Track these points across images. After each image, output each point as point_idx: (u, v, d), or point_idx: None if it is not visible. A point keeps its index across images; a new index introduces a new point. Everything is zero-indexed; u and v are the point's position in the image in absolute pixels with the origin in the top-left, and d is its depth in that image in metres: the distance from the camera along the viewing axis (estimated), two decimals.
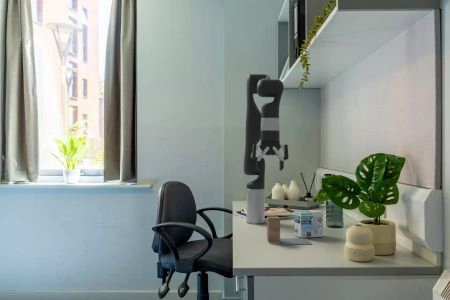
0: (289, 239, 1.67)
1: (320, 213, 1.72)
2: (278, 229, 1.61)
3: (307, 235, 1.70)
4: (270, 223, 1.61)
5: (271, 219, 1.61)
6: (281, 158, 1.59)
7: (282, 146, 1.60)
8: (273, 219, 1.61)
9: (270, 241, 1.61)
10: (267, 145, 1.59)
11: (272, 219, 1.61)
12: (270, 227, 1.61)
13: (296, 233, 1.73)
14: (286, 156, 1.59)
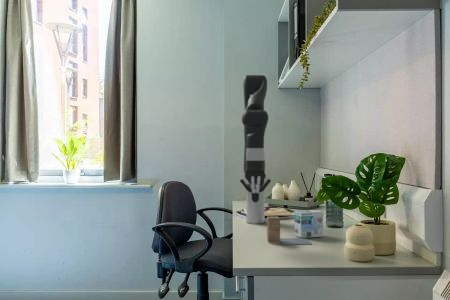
0: (289, 239, 1.67)
1: (320, 213, 1.72)
2: (278, 229, 1.61)
3: (307, 235, 1.70)
4: (270, 223, 1.61)
5: (271, 219, 1.61)
6: (257, 190, 1.62)
7: (266, 178, 1.63)
8: (273, 219, 1.61)
9: (270, 241, 1.61)
10: (252, 175, 1.62)
11: (272, 219, 1.61)
12: (270, 227, 1.61)
13: (296, 233, 1.73)
14: (261, 188, 1.62)
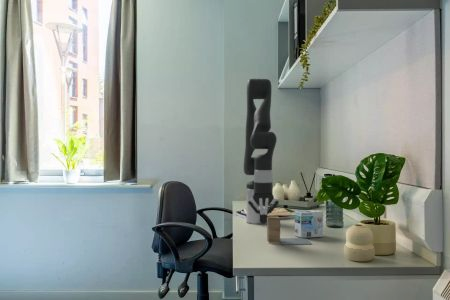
0: (289, 239, 1.67)
1: (320, 213, 1.72)
2: (278, 229, 1.61)
3: (307, 235, 1.70)
4: (270, 223, 1.61)
5: (271, 219, 1.61)
6: (265, 211, 1.62)
7: (274, 200, 1.63)
8: (273, 219, 1.61)
9: (270, 241, 1.61)
10: (260, 196, 1.62)
11: (272, 219, 1.61)
12: (270, 227, 1.61)
13: (296, 233, 1.73)
14: (269, 210, 1.62)
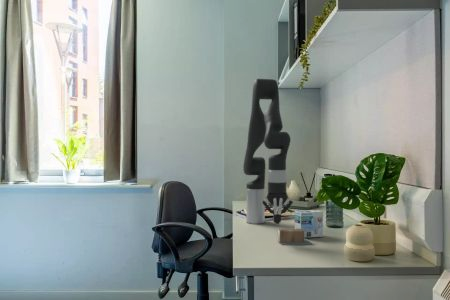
0: None
1: (320, 213, 1.72)
2: (293, 240, 1.62)
3: (307, 235, 1.70)
4: (299, 232, 1.62)
5: (302, 233, 1.62)
6: (279, 211, 1.62)
7: (288, 200, 1.63)
8: (302, 235, 1.62)
9: (281, 233, 1.61)
10: (274, 196, 1.62)
11: (302, 234, 1.62)
12: (295, 232, 1.62)
13: None
14: (283, 210, 1.62)
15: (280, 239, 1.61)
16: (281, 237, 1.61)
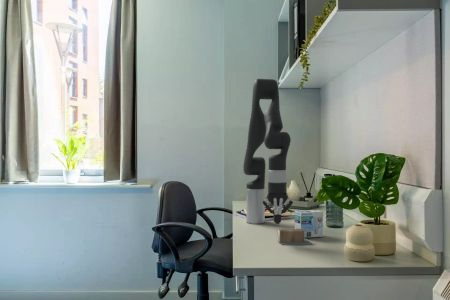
0: None
1: (320, 213, 1.72)
2: (293, 240, 1.62)
3: (307, 235, 1.70)
4: (299, 232, 1.62)
5: (302, 233, 1.62)
6: (279, 211, 1.62)
7: (288, 200, 1.63)
8: (302, 235, 1.62)
9: (281, 233, 1.61)
10: (274, 196, 1.62)
11: (302, 234, 1.62)
12: (295, 232, 1.62)
13: None
14: (283, 210, 1.62)
15: (280, 239, 1.61)
16: (281, 237, 1.61)
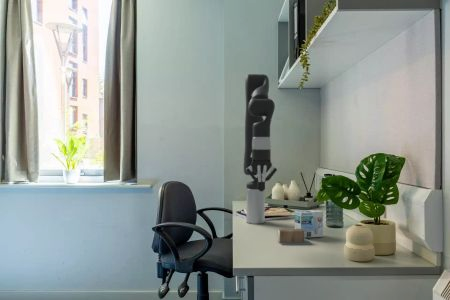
0: None
1: (320, 213, 1.72)
2: (293, 240, 1.62)
3: (307, 235, 1.70)
4: (299, 232, 1.62)
5: (302, 233, 1.62)
6: (263, 179, 1.62)
7: (272, 167, 1.62)
8: (302, 235, 1.62)
9: (281, 233, 1.61)
10: (258, 163, 1.61)
11: (302, 234, 1.62)
12: (295, 232, 1.62)
13: None
14: (267, 177, 1.62)
15: (280, 239, 1.61)
16: (281, 237, 1.61)
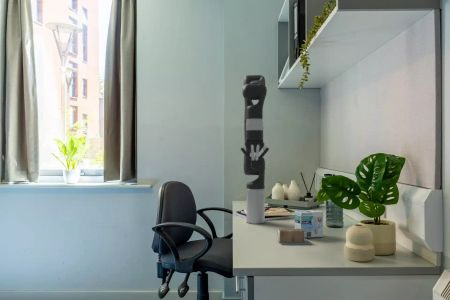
0: None
1: (320, 213, 1.72)
2: (293, 240, 1.62)
3: (307, 235, 1.70)
4: (299, 232, 1.62)
5: (302, 233, 1.62)
6: (256, 157, 1.76)
7: (264, 147, 1.76)
8: (302, 235, 1.62)
9: (281, 233, 1.61)
10: (252, 143, 1.75)
11: (302, 234, 1.62)
12: (295, 232, 1.62)
13: None
14: (260, 156, 1.76)
15: (280, 239, 1.61)
16: (281, 237, 1.61)
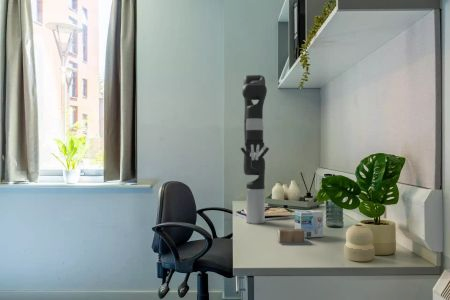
0: None
1: (320, 213, 1.72)
2: (293, 240, 1.62)
3: (307, 235, 1.70)
4: (299, 232, 1.62)
5: (302, 233, 1.62)
6: (256, 157, 1.76)
7: (264, 147, 1.76)
8: (302, 235, 1.62)
9: (281, 233, 1.61)
10: (252, 143, 1.75)
11: (302, 234, 1.62)
12: (295, 232, 1.62)
13: None
14: (260, 156, 1.76)
15: (280, 239, 1.61)
16: (281, 237, 1.61)
